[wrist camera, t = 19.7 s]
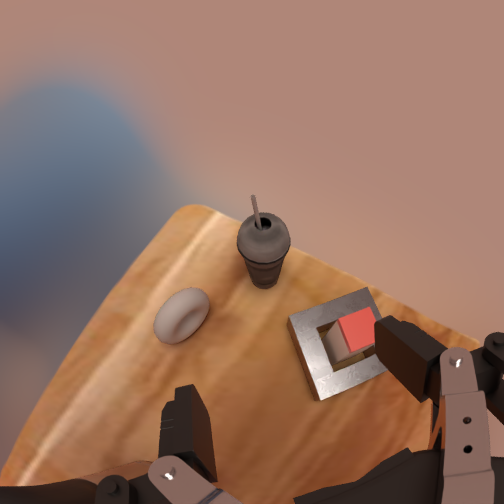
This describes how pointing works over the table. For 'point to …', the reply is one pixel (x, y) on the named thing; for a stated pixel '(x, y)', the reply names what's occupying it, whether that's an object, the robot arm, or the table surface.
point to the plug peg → (350, 336)
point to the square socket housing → (313, 352)
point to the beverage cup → (263, 246)
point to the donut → (181, 315)
